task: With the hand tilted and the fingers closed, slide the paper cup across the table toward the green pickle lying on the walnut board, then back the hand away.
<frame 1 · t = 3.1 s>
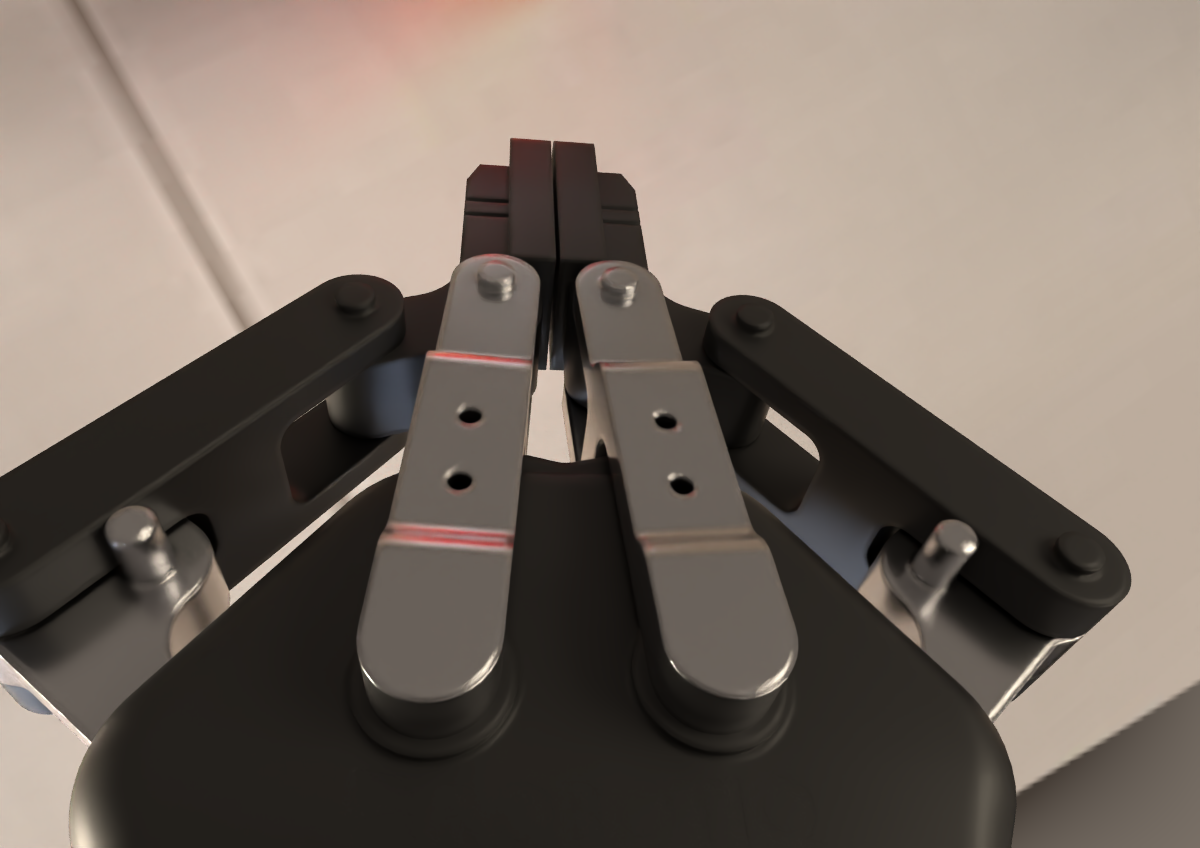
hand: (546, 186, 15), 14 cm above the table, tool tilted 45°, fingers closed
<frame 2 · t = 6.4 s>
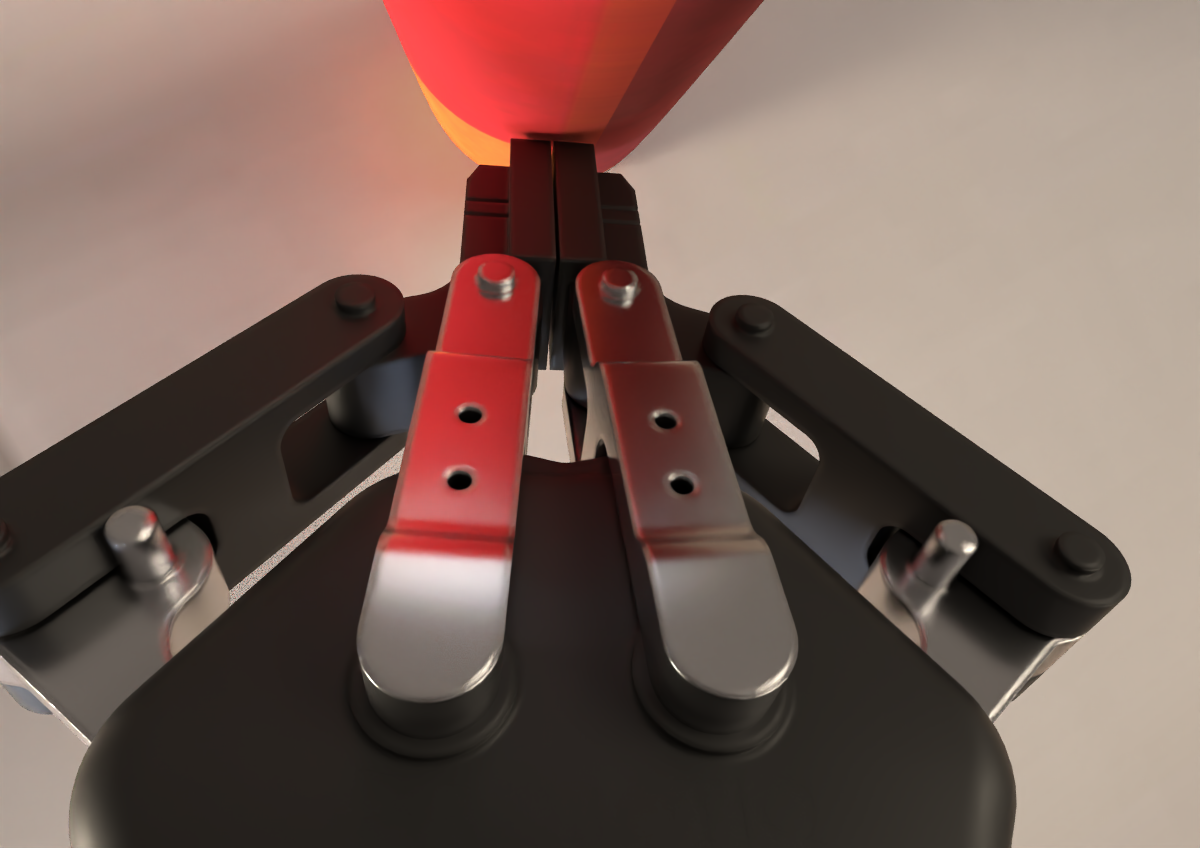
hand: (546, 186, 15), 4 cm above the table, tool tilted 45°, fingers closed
paper cup: (540, 71, 20), on the table, touching gripper
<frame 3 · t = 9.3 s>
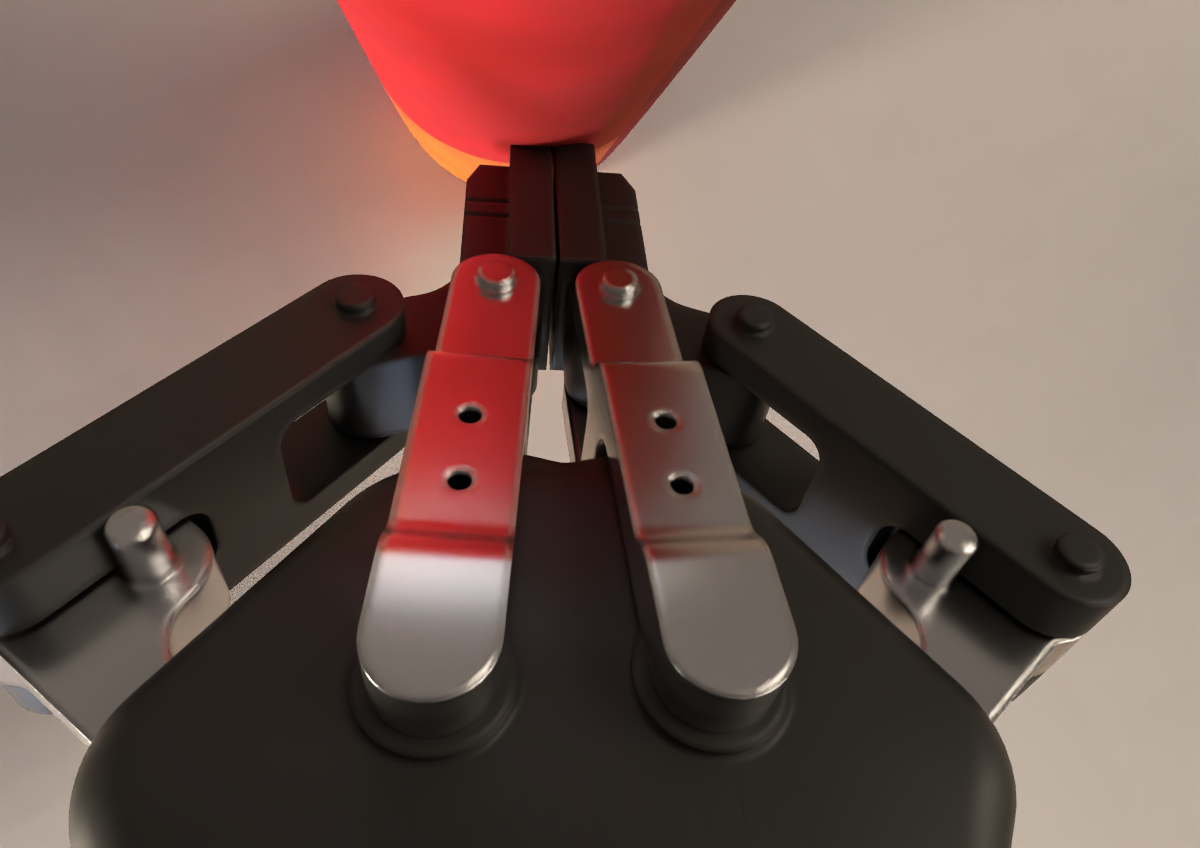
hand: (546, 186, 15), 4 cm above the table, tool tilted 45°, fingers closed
paper cup: (513, 80, 20), on the table, touching gripper
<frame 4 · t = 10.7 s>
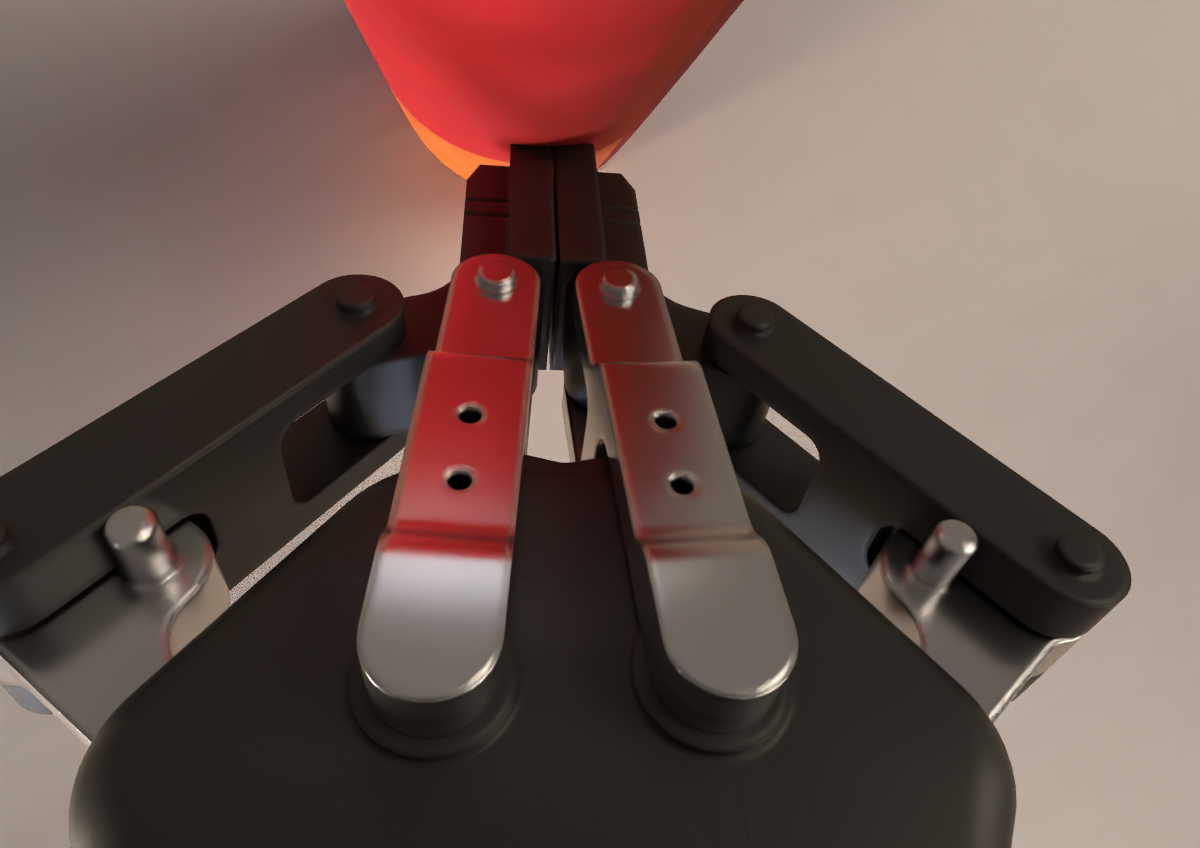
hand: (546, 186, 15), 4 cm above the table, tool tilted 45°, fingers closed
paper cup: (518, 80, 20), on the table, touching gripper
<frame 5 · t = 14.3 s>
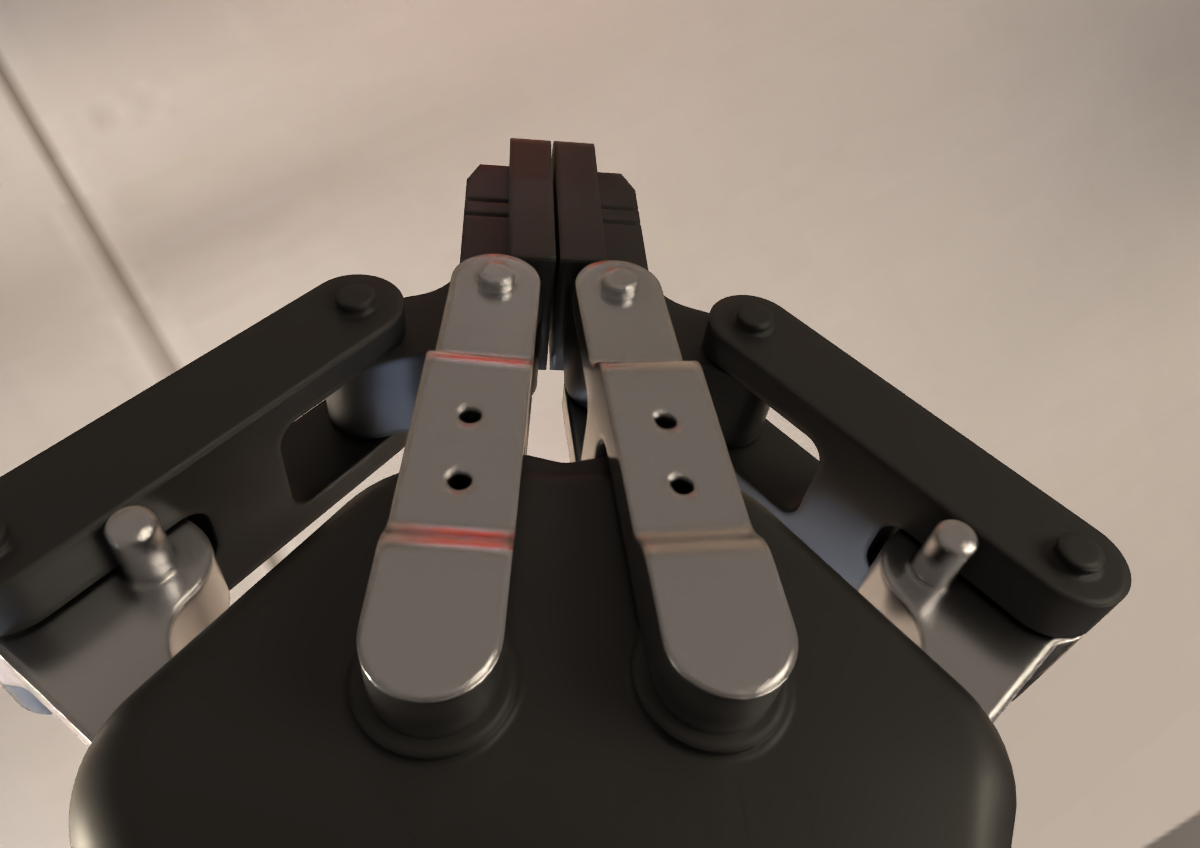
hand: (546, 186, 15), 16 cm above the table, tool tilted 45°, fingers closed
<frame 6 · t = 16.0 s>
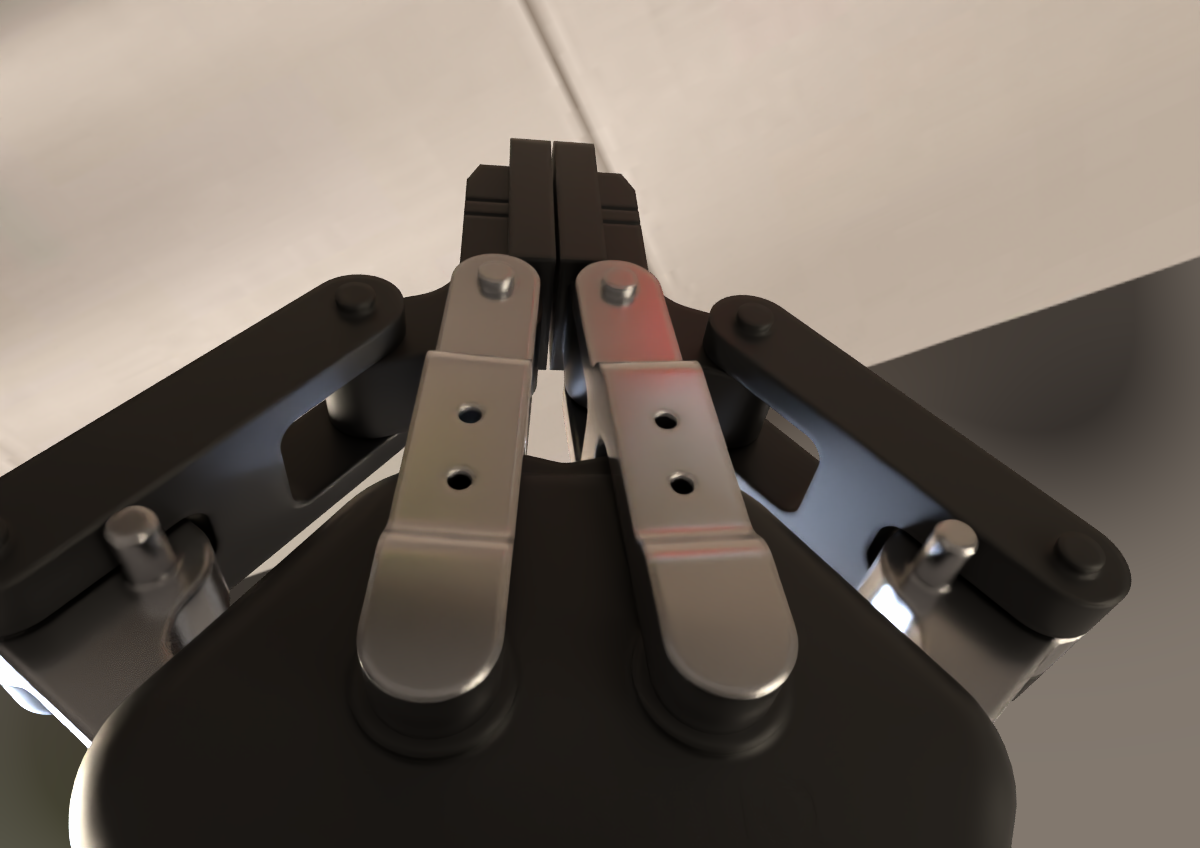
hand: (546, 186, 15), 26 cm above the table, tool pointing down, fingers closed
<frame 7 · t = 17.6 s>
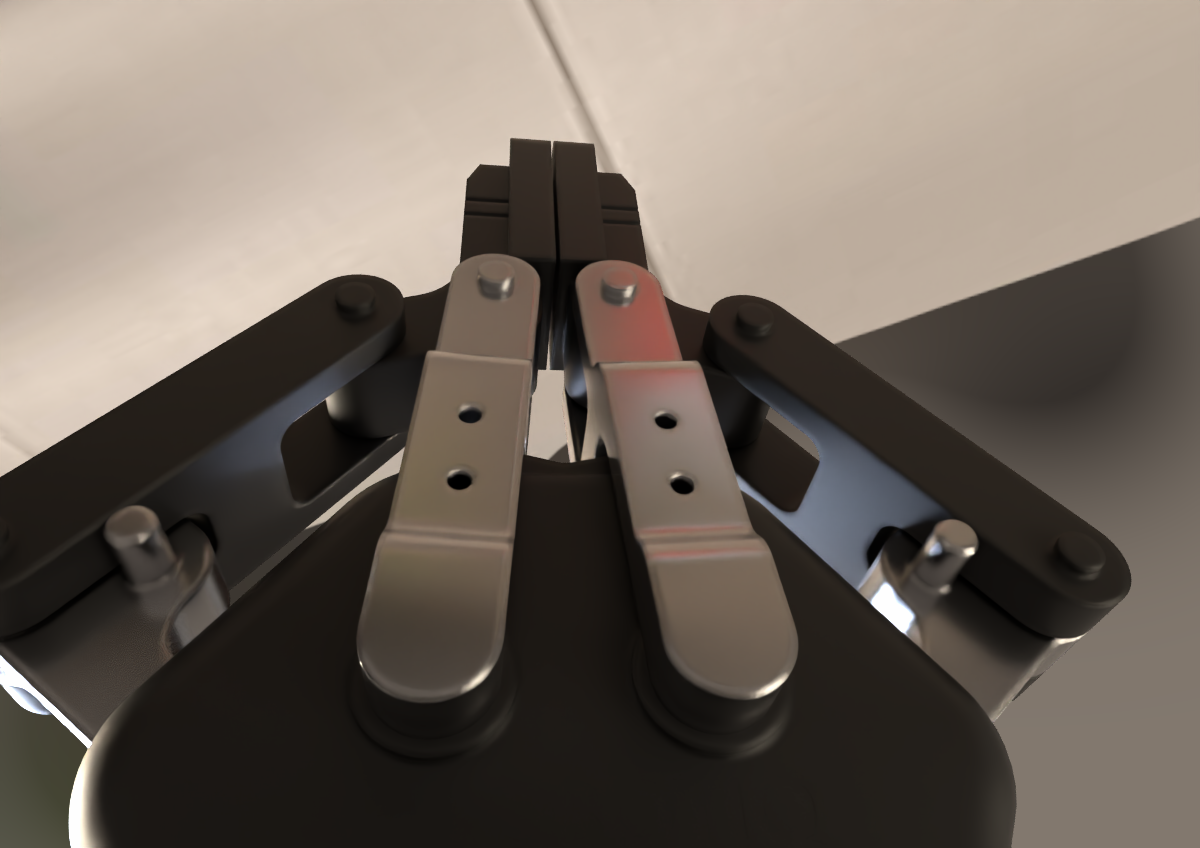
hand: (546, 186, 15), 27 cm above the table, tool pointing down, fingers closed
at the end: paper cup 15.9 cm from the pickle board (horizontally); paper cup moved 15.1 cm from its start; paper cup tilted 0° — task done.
